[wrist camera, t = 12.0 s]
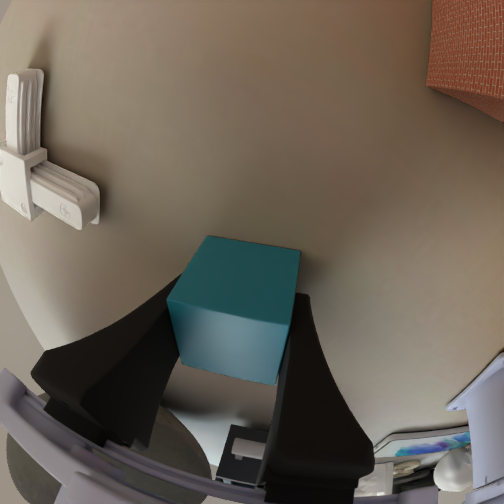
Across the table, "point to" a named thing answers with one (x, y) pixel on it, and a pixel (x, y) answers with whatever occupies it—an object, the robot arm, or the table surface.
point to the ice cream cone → (455, 470)
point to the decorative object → (404, 468)
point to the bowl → (160, 450)
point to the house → (469, 53)
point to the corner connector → (39, 162)
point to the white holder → (376, 481)
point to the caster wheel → (414, 481)
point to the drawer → (242, 456)
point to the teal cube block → (235, 308)
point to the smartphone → (423, 442)
